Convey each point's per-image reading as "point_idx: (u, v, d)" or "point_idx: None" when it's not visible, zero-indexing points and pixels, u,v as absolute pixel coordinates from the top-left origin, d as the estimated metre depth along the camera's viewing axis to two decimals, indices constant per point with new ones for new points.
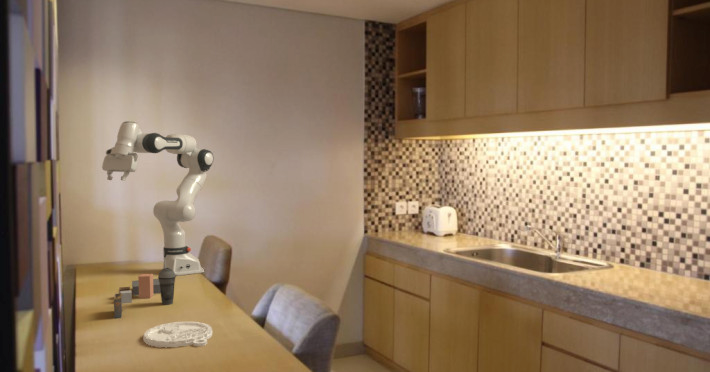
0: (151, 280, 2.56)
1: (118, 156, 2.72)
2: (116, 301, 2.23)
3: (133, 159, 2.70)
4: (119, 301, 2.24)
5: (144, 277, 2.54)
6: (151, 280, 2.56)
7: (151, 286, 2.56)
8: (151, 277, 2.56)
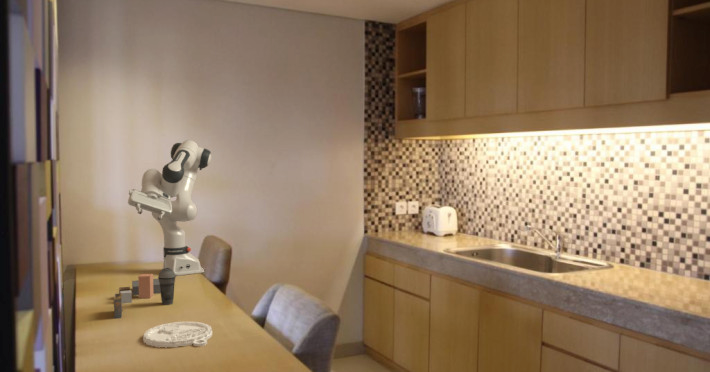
0: (151, 280, 2.56)
1: None
2: (116, 301, 2.23)
3: None
4: (119, 301, 2.24)
5: (144, 277, 2.54)
6: (151, 280, 2.56)
7: (151, 286, 2.56)
8: (151, 277, 2.56)
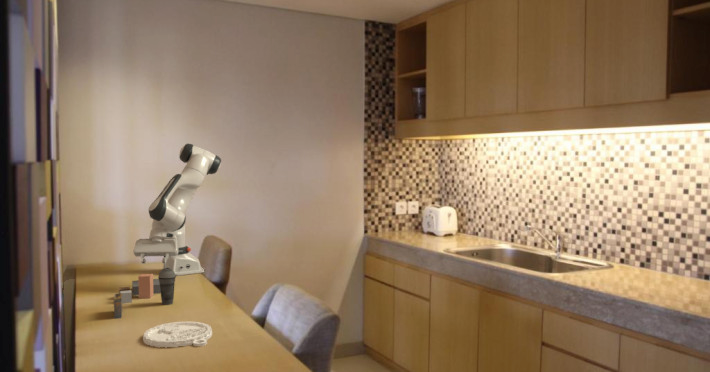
0: (151, 280, 2.56)
1: None
2: (116, 301, 2.23)
3: None
4: (119, 301, 2.24)
5: (144, 277, 2.54)
6: (151, 280, 2.56)
7: (151, 286, 2.56)
8: (151, 277, 2.56)
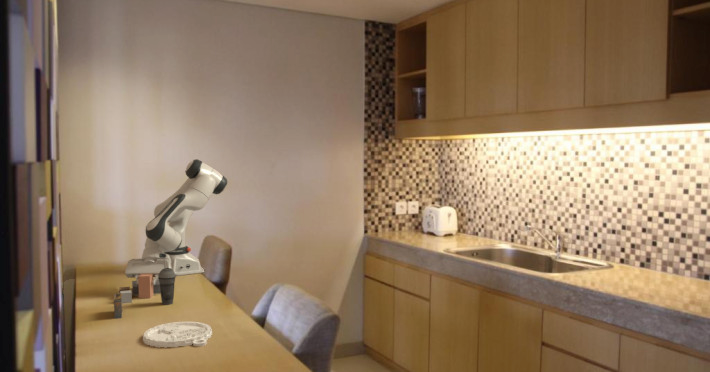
0: None
1: None
2: (116, 301, 2.23)
3: None
4: (119, 301, 2.24)
5: (144, 277, 2.54)
6: None
7: (151, 286, 2.56)
8: (151, 277, 2.56)
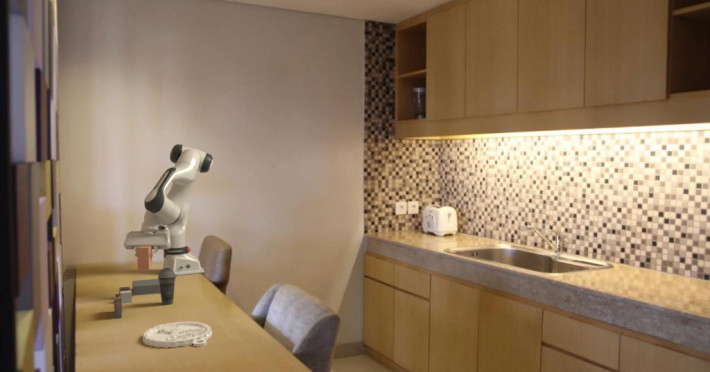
0: None
1: None
2: (116, 301, 2.23)
3: None
4: (119, 301, 2.24)
5: (143, 248, 2.53)
6: (149, 251, 2.55)
7: (150, 258, 2.56)
8: (150, 249, 2.56)
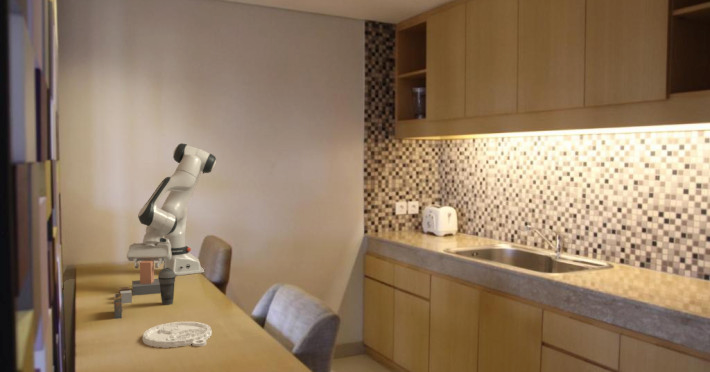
0: (152, 266, 2.67)
1: None
2: (116, 301, 2.23)
3: None
4: (119, 301, 2.24)
5: (145, 263, 2.65)
6: (151, 266, 2.67)
7: (152, 272, 2.67)
8: (152, 263, 2.67)
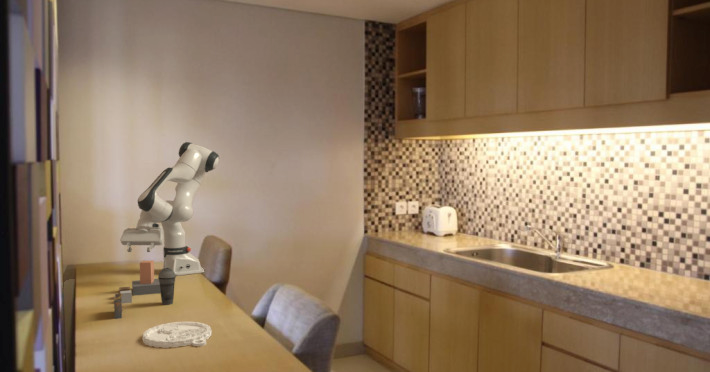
0: (152, 266, 2.67)
1: None
2: (116, 301, 2.23)
3: None
4: (119, 301, 2.23)
5: (145, 263, 2.65)
6: (151, 266, 2.67)
7: (152, 272, 2.67)
8: (152, 263, 2.67)
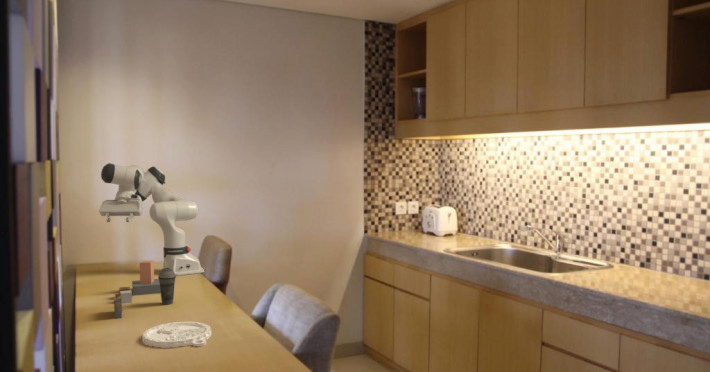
0: (152, 266, 2.67)
1: None
2: (116, 301, 2.23)
3: None
4: (119, 301, 2.23)
5: (145, 263, 2.65)
6: (151, 266, 2.67)
7: (152, 272, 2.67)
8: (152, 263, 2.67)
